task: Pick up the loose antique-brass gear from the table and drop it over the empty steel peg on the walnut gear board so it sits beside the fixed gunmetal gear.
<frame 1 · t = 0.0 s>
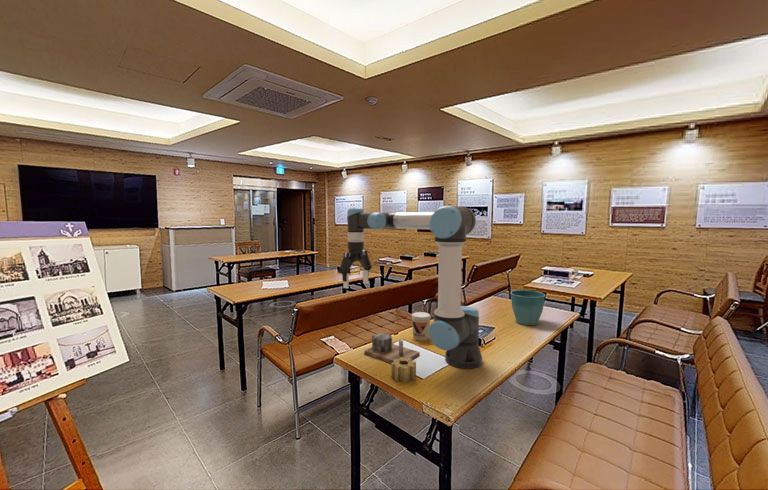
hand: (356, 285, 157), 28 cm above the table, fingers open, 13 cm apart
coffee cup: (420, 338, 165), on the table
brass gear: (403, 376, 125), on the table
flower pot: (526, 322, 188), on the table
gear board: (391, 354, 145), on the table
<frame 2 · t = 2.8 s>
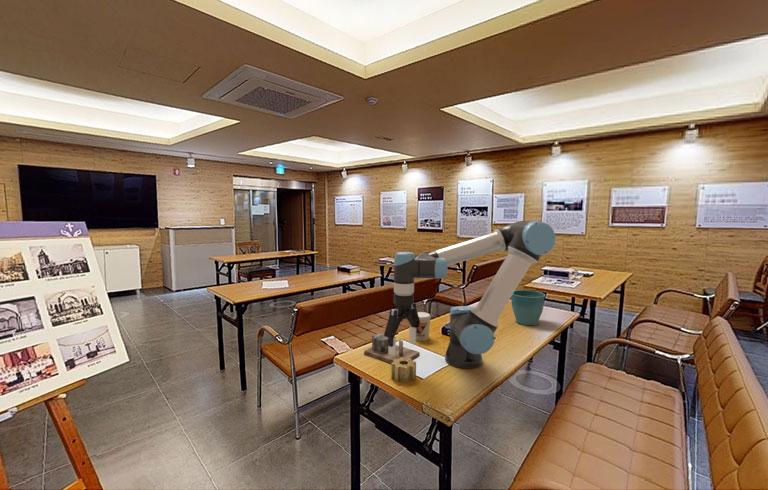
hand: (402, 348, 124), 11 cm above the table, fingers open, 13 cm apart
nothing on the table moved.
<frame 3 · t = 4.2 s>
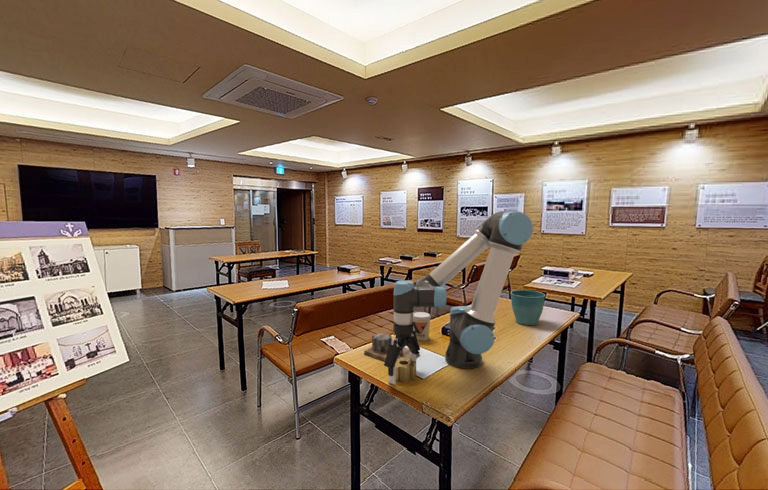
hand: (402, 376, 125), 0 cm above the table, fingers open, 13 cm apart
nothing on the table moved.
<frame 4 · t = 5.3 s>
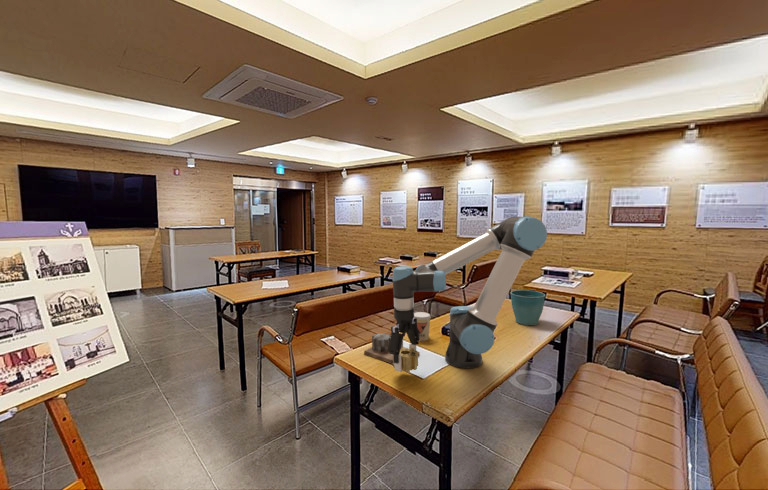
hand: (405, 365, 125), 4 cm above the table, fingers closed on brass gear, 9 cm apart
brass gear: (405, 366, 125), point 4 cm above the table, touching gripper
everything else where it was.
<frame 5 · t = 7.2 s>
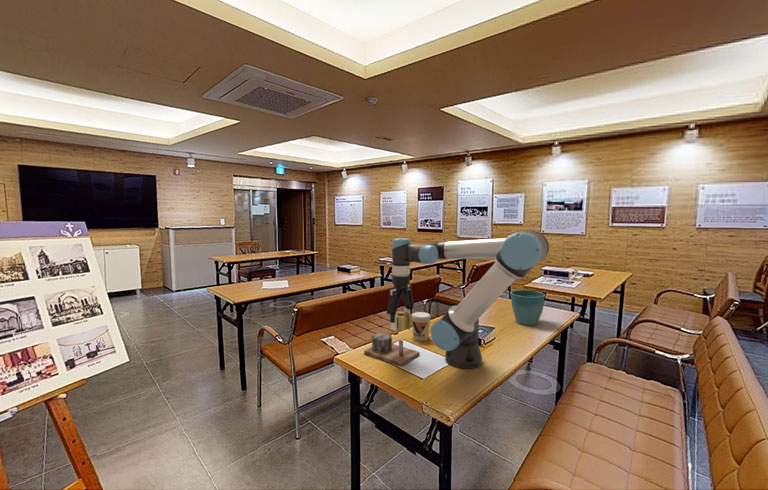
hand: (400, 326, 141), 14 cm above the table, fingers closed on brass gear, 9 cm apart
brass gear: (400, 327, 141), point 14 cm above the table, touching gripper
everything else where it was.
when the fingers open (3 cm above the table, at t = 9.3 s): brass gear drops 1 cm, resting on gear board.
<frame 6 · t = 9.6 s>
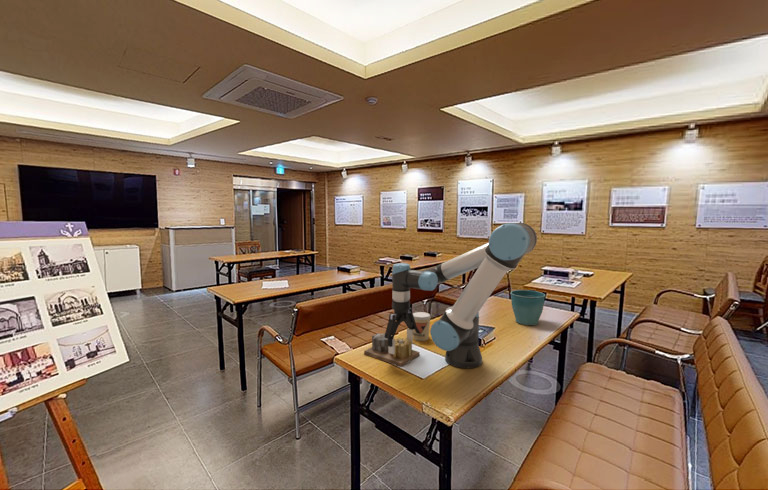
hand: (400, 348, 142), 4 cm above the table, fingers open, 13 cm apart
brass gear: (400, 354, 142), point 1 cm above the table, touching gear board
everything else where it was.
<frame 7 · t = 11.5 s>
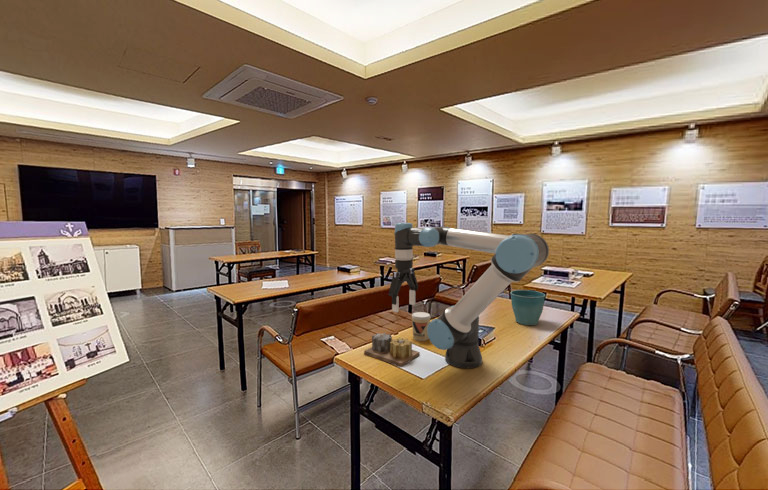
hand: (404, 308, 142), 21 cm above the table, fingers open, 13 cm apart
nothing on the table moved.
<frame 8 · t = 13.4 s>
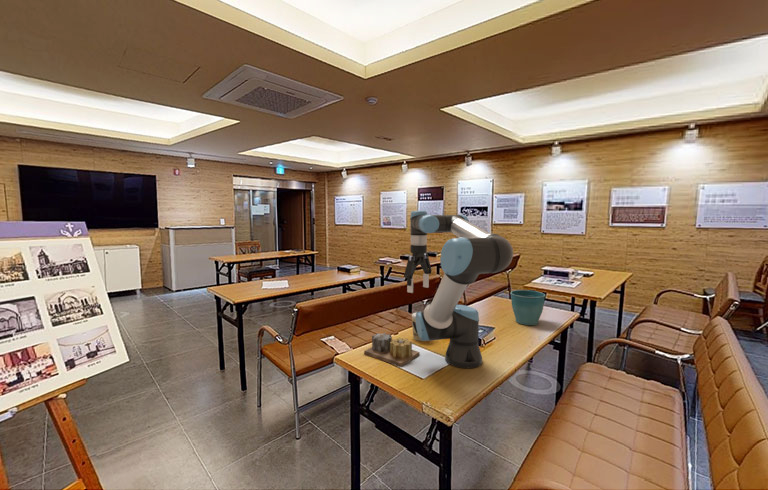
hand: (418, 289, 153), 27 cm above the table, fingers open, 13 cm apart
nothing on the table moved.
at the end: brass gear 0.1 cm from the target spot on the gear board, point 1.5 cm above the gear board's base; the gripper is holding nothing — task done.
